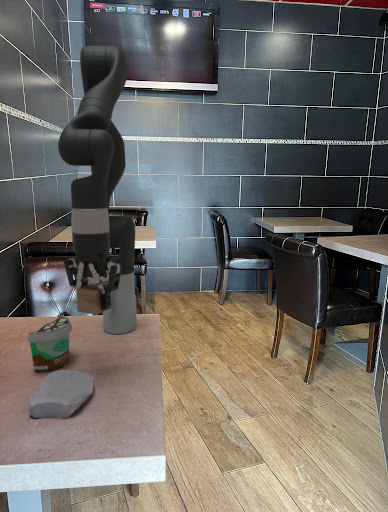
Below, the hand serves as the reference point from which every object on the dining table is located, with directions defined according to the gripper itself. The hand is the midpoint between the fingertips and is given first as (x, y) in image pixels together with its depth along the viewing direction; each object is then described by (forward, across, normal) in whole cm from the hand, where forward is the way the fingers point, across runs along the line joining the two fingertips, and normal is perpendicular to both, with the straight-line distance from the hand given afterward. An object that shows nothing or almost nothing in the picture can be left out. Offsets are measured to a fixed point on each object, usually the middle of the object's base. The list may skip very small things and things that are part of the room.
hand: (94, 307), depth 79 cm
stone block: (+16, -2, +11) cm, 20 cm away
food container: (+16, +11, +1) cm, 19 cm away
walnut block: (+1, 0, 0) cm, 1 cm away
